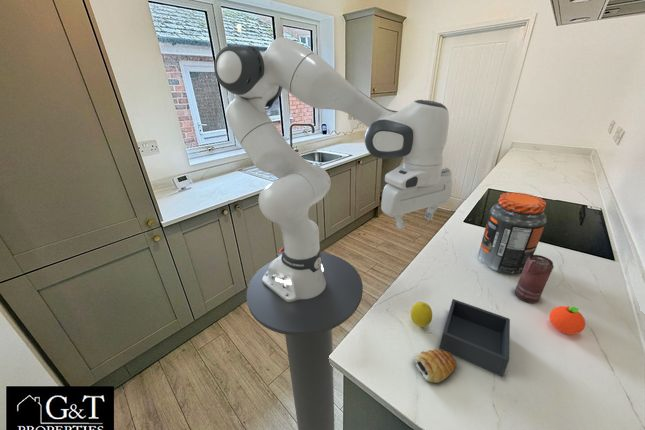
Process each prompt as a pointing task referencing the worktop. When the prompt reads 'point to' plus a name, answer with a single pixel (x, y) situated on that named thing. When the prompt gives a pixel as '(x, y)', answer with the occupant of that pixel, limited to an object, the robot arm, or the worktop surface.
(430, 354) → the pastry
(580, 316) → the clementine
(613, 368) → the worktop surface
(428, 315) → the lemon
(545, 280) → the dark red glass cylinder
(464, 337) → the bin
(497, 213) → the supplement tub
